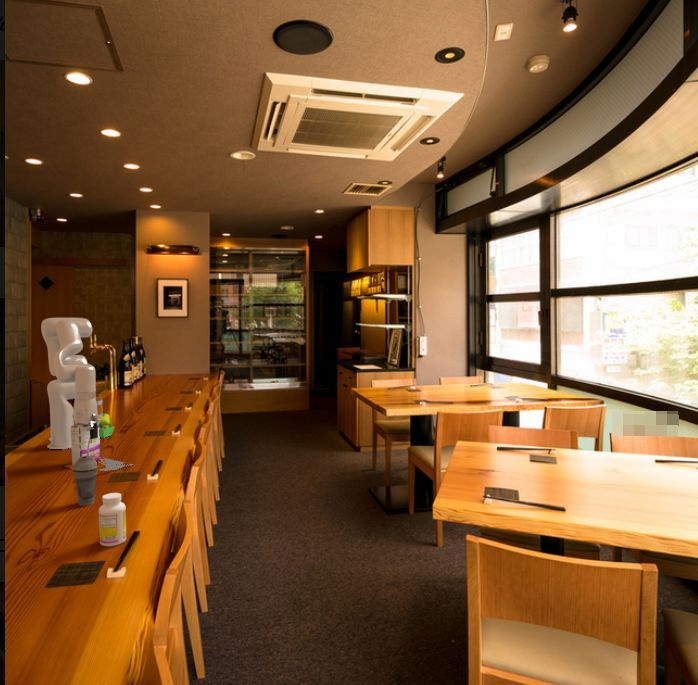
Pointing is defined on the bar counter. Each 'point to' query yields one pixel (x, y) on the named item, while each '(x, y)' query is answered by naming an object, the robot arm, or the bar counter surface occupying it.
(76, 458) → the candy bar box
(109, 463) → the mat
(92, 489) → the beverage cup
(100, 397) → the mug
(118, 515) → the supplement bottle
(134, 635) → the bar counter surface
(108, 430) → the fruit basket
